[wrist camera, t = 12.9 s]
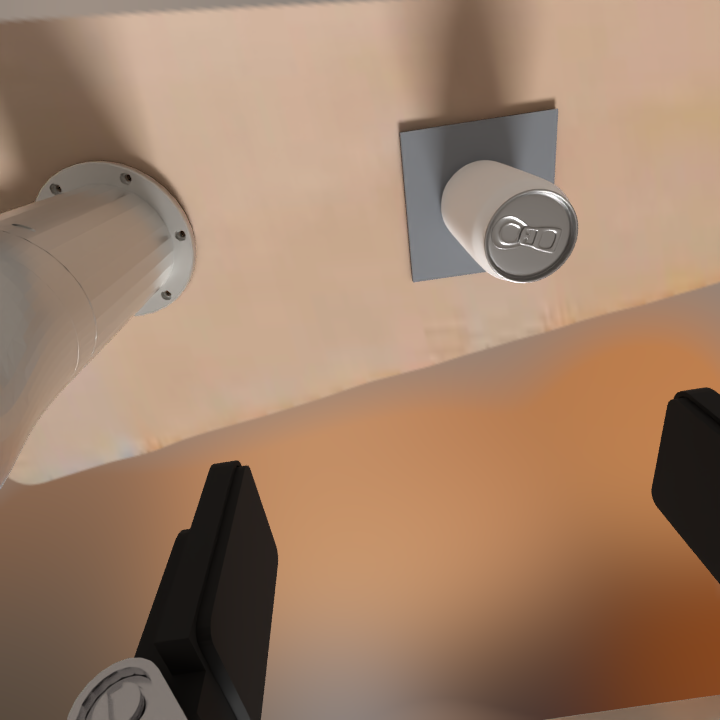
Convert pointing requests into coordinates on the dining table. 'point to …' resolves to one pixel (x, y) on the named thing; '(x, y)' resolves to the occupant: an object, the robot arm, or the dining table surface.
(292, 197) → the dining table surface
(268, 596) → the robot arm
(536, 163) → the mat
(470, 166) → the can
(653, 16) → the dining table surface
